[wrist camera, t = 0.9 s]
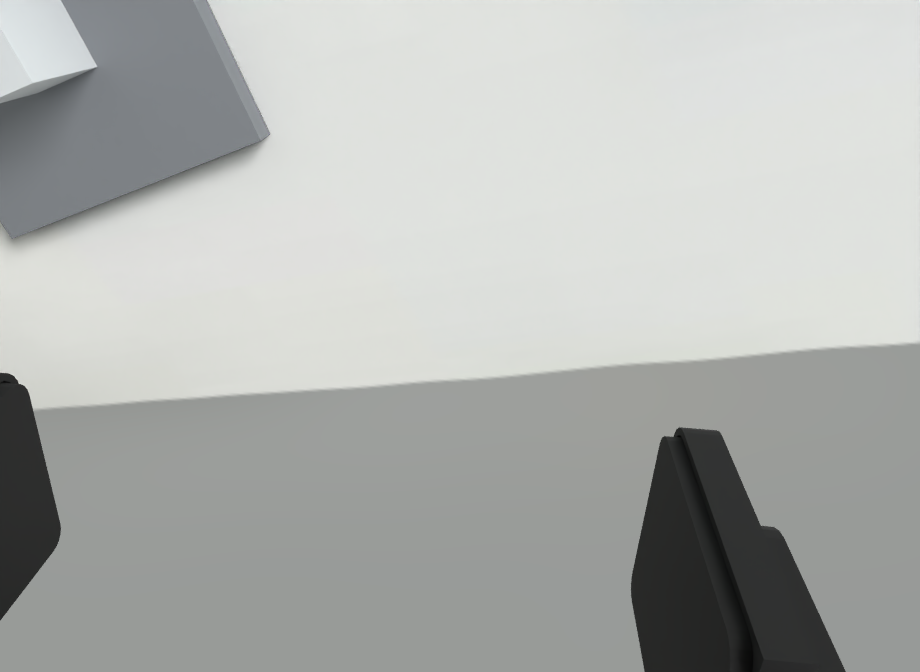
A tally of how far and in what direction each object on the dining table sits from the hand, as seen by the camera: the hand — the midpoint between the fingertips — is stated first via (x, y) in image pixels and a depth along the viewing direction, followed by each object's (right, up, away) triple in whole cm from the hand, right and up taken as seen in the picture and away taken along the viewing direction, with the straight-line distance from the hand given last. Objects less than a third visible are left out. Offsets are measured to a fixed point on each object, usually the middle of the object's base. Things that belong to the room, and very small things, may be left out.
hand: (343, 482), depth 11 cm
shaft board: (-16, +16, +23) cm, 32 cm away
